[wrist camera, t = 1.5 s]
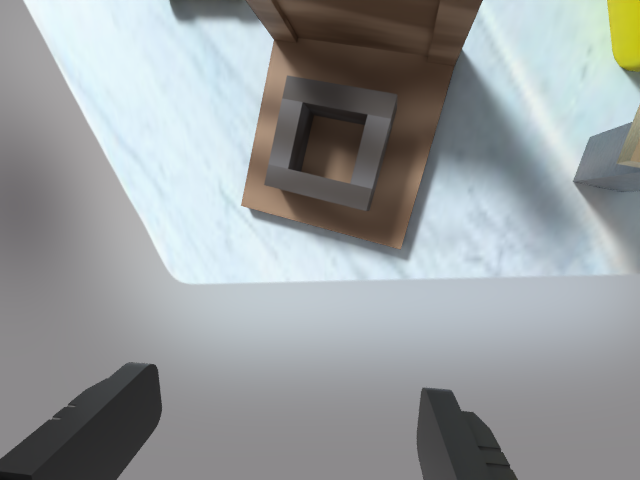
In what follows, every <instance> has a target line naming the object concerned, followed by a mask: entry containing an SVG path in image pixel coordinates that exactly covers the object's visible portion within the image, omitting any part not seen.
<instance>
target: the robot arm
mask: <svg viewBox="0 0 640 480" xmlns="http://www.w3.org/2000/svg"><path fill="white" fill-rule="evenodd" d="M158 376H159V375H158V369H157V367H156V365H154V364H145V363H133V362H129V363H127V364H125V365H124V366H122V367H121V368H120V369H119V370H118V371H116V372H115V373H114V374H113V375H112V376H110V377H109V378H108V379H105V380H103V381H101V382H99V383H97V384H96V385H94V386H92V387H90V388H88V389H86V390H85V391H83V392H82V393H81V394H80V395H79V396H77V397H76V398H75V399H74V400H72V401H71V402H70V403H69V404H68V406H67V407H64V408H63V409H62V410H60V411H59V412H58V413H56V414H55V415H54V416H53V418H52V420H48V421H47V422H45V423H44V424H43V425H42V426H40V427H39V428H38V429H37V430H36V431H34V432H33V433H32V434H31V435H29V436H28V437H27V438H26V439H24V440H23V441H22V442H21V443H20V444H19V445H17V446H16V447H15V448H13V449H12V450H11V451H10V452H9V453H7V454H6V455H5V456H4V457H2V458H1V459H0V480H117V478H118V477H119V476H120V474H121V473H122V472H123V470H124V469H125V468H126V466H127V465H128V464H129V463H130V461H131V460H132V459H133V457H134V456H135V455H136V454H137V452H138V451H139V450H140V448H141V447H142V446H143V444H144V443H145V442H146V440H147V439H148V438H149V437H150V435H151V434H152V433H153V431H154V429H155V428H156V427H157V425H158V422H159V420H160V417H161V412H162V403H161V394H160V385H159V377H158ZM417 450H418V457H419V462H420V466H421V470H422V474H423V479H424V480H518V479H517V478H516V476H515V474H514V472H513V470H511V469H510V464H509V463H508V461H507V459H506V457H505V455H504V453H503V452H501V448H500V446H499V444H498V443H497V441H496V439H495V437H494V435H493V433H492V432H491V430H490V428H489V427H487V425H486V424H485V423H484V422H483V421H482V420H481V419H480V418H479V417H478V416H477V415H476V414H474V413H473V412H464V411H461V409H460V407H459V405H458V402H457V400H456V398H455V396H454V394H453V392H452V391H451V390H446V389H435V388H423V389H422V391H421V398H420V407H419V417H418V427H417Z"/></svg>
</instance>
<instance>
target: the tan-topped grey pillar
mask: <svg viewBox="0 0 640 480" xmlns="http://www.w3.org/2000/svg"><path fill="white" fill-rule="evenodd" d="M573 182H577V183H582V184H587V185H592V186H596V187H601V188H606V189H611V190H616V191H621V192H631V191H640V105H639V107H638V110H637V112H636V115H635V118H634V120H633V122H631V123H628V124H625V125H623V126H620V127H617V128H614V129H611V130H609V131H606V132H603V133H600V134H597V135H595V136H592V137H590V138H589V141H588V143H587V146H586V149H585V151H584V154H583V156H582V159H581V162H580V164H579V167H578V170H577V172H576V175H575V178H574V180H573Z"/></svg>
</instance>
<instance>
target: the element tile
mask: <svg viewBox="0 0 640 480" xmlns="http://www.w3.org/2000/svg"><path fill="white" fill-rule="evenodd" d="M607 3H608V13H609V22H610V32H611V41H612V51H613V55H614V58H615V60H616V61H617V63H618V64H619V66H620V67H622V68H624V69H626V70H628V71H637V72H639V71H640V0H607Z"/></svg>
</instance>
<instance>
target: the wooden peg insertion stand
mask: <svg viewBox="0 0 640 480" xmlns="http://www.w3.org/2000/svg"><path fill="white" fill-rule="evenodd" d="M482 1H483V0H246V2H247V3H248V4H249V6H250V7H251V8H252V10H253V11H254V13H255V14H256V15H257V17H258V18H259V20H260V21H261V22H262V24H263V25H264V27H265V28H266V29H267V31H268V32H269V33H270V35H271V36H272V38H273V39H274V43H273V48H272V53H271V58H270V63H269V68H268V73H267V78H266V83H265V88H264V93H263V98H262V103H261V108H260V113H259V118H258V123H257V128H256V133H255V138H254V143H253V148H252V153H251V158H250V163H249V168H248V174H247V179H246V184H245V189H244V194H243V199H242V204H241V206H244V207H248V208H251V209H255V210H258V211H262V212H266V213H269V214H273V215H277V216H280V217H284V218H288V219H291V220H295V221H299V222H302V223H306V224H310V225H313V226H317V227H320V228H324V229H328V230H331V231H335V232H339V233H342V234H346V235H350V236H353V237H357V238H361V239H364V240H368V241H371V242H375V243H379V244H382V245H386V246H390V247H393V248H397V249H401V247H402V243H403V240H404V236H405V233H406V230H407V226H408V223H409V219H410V216H411V213H412V209H413V206H414V202H415V199H416V196H417V192H418V189H419V185H420V182H421V179H422V175H423V172H424V168H425V165H426V161H427V158H428V155H429V151H430V148H431V144H432V141H433V138H434V134H435V131H436V127H437V124H438V121H439V117H440V114H441V110H442V107H443V104H444V100H445V97H446V93H447V90H448V87H449V83H450V80H451V76H452V73H453V70H454V66H455V64H456V61H457V59H458V57H459V54H460V52H461V50H462V47H463V45H464V43H465V40H466V38H467V36H468V33H469V31H470V29H471V26H472V24H473V22H474V19H475V17H476V15H477V12H478V10H479V8H480V5H481V3H482Z"/></svg>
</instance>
